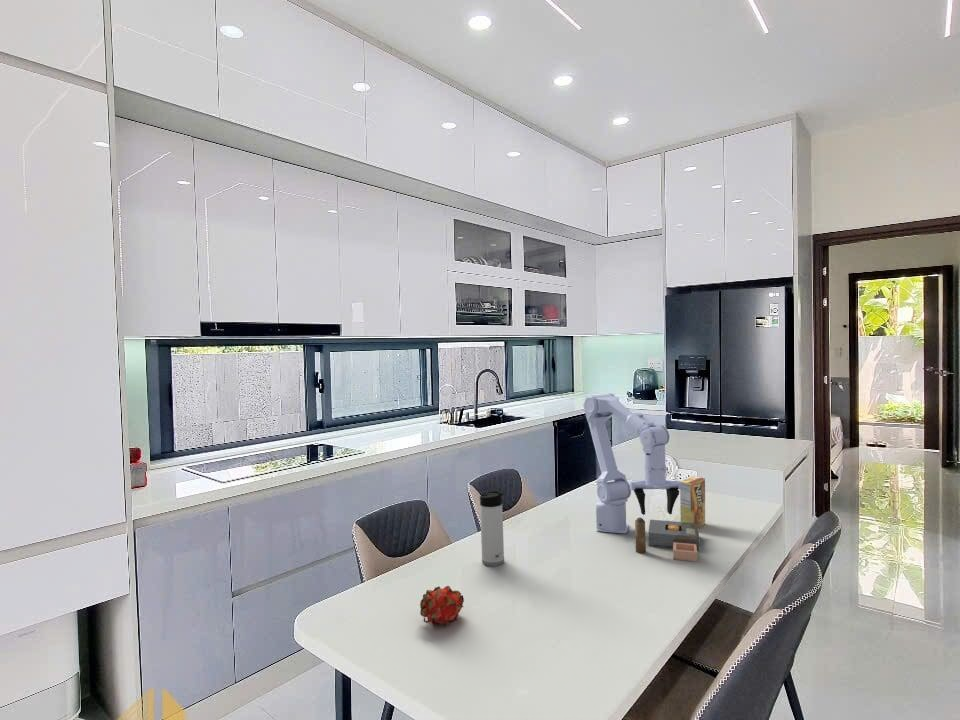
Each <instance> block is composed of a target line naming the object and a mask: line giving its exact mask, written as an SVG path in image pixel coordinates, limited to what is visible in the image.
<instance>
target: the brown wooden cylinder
mask: <svg viewBox="0 0 960 720" xmlns="http://www.w3.org/2000/svg"><path fill="white" fill-rule="evenodd" d="M634 531H635V532H634V533H635V534H634V535H635V553H637V554H646V552H647V549H646V546H647V544H646V543H647V542H646V521H645V520H644V518H642V517H637V518H636V519H634Z"/></svg>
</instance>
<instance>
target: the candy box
mask: <svg viewBox="0 0 960 720" xmlns="http://www.w3.org/2000/svg"><path fill="white" fill-rule="evenodd" d="M679 481H680V482H681V483H682V489H679V496H680V497H679V501H680V502H679V503H680V504H679V505H680V513H679V515H680V522H688V523H698V528H699V527H702V526H704V525H706V479H705V478H704V477H699V476H691V477H689V478H685V479H683V480H679Z"/></svg>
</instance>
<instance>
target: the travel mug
mask: <svg viewBox="0 0 960 720" xmlns="http://www.w3.org/2000/svg"><path fill="white" fill-rule="evenodd" d="M503 496H504V492H503V491H500V490H499V491H498V490H494V491H492V490H491V491H487V492H484V493H482V494H481V495H479V511H480V514H479V515H480V516H479V517H480V538H481V540H480V541H481V542H480V543H481V545H480V546H481V562H482V564H483V565H484V566H487V567H498V566H501V565H503V564H504V563H505V551H504V550H505V548H504V543H505V542H504V523H503V522H504V521H503V519H504V518H503V517H504V516H503V501H502V500H503V499H502V498H503Z"/></svg>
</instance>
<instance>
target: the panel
mask: <svg viewBox="0 0 960 720" xmlns="http://www.w3.org/2000/svg"><path fill="white" fill-rule="evenodd" d="M669 525H676V526H678V527H679V531H674V530H668V526H669ZM673 542H676V543H687V544H696V546H697V552H698V551H699V552H700V551H701V550H700V532H699V527H698V523H688V522H681V521H675V520H663V519H662V520H660V519H649V526H648V547H656V548H657V547H658V548H668V549H673Z"/></svg>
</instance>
